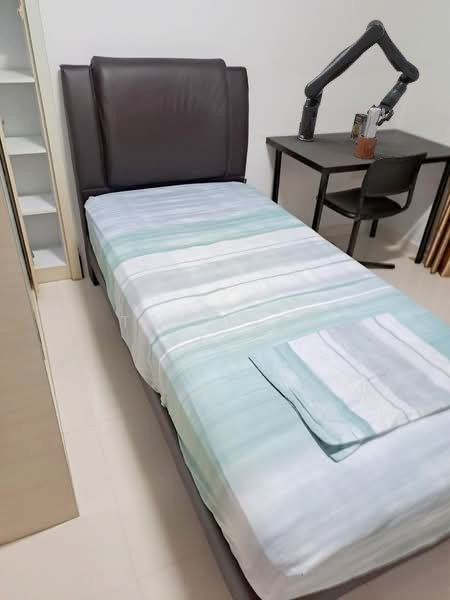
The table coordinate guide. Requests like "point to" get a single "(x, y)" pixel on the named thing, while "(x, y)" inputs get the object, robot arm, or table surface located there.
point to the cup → (365, 147)
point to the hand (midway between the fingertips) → (372, 123)
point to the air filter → (372, 123)
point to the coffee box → (358, 127)
